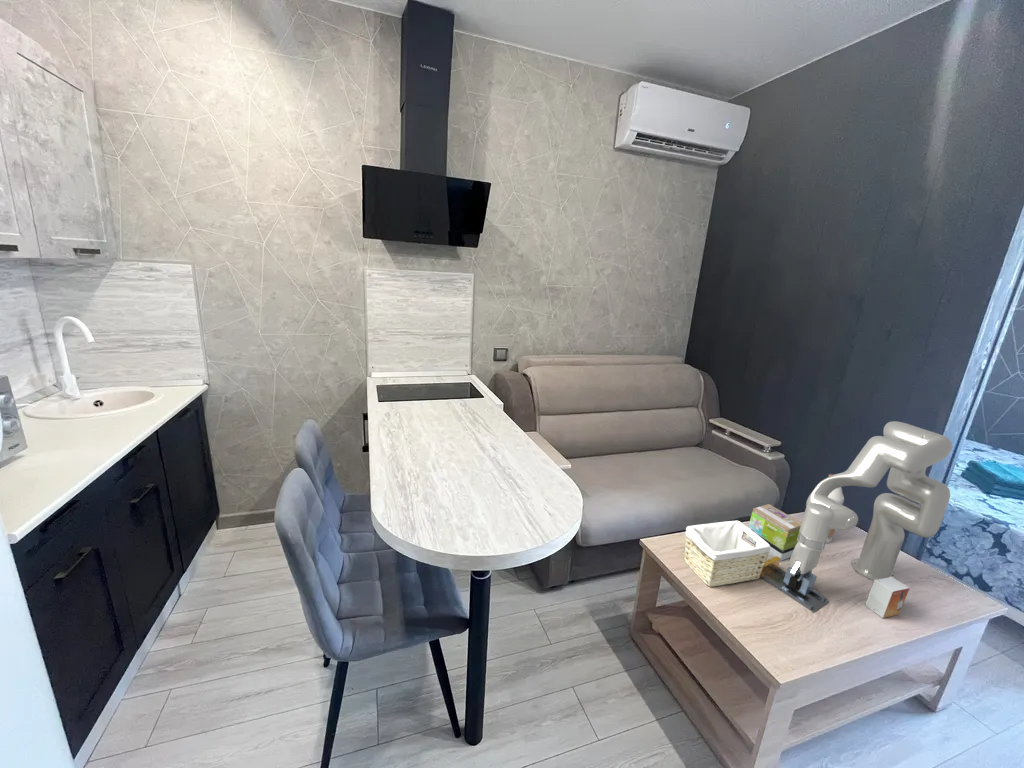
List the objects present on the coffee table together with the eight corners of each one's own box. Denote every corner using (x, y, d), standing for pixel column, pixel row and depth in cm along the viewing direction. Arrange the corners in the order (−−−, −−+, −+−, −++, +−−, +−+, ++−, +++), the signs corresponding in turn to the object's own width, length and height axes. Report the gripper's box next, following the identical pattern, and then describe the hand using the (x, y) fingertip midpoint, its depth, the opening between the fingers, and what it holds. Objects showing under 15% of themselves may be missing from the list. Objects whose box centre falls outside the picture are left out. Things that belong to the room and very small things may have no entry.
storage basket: (706, 590, 142) (715, 553, 138) (677, 558, 157) (684, 524, 153) (764, 581, 148) (774, 546, 144) (730, 551, 163) (738, 518, 159)
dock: (773, 567, 156) (776, 555, 154) (828, 602, 141) (832, 589, 139) (757, 575, 151) (760, 563, 150) (813, 612, 136) (817, 599, 134)
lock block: (790, 577, 148) (794, 563, 147) (812, 591, 143) (816, 576, 141) (783, 582, 146) (787, 567, 144) (804, 596, 140) (809, 581, 138)
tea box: (744, 538, 172) (752, 507, 168) (760, 533, 176) (768, 502, 172) (779, 562, 159) (789, 528, 155) (796, 556, 163) (806, 523, 159)
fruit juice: (800, 533, 178) (817, 474, 170) (810, 527, 183) (828, 469, 175) (825, 546, 170) (844, 484, 163) (835, 539, 175) (855, 479, 168)
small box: (882, 618, 135) (892, 591, 132) (864, 605, 140) (873, 579, 137) (900, 614, 137) (910, 588, 134) (881, 601, 142) (891, 575, 139)
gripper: (812, 527, 146) (799, 570, 151) (785, 540, 138) (773, 586, 143) (836, 539, 140) (822, 584, 145) (810, 554, 132) (796, 601, 137)
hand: (797, 584), depth 144 cm, fingers closed on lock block, 5 cm apart
